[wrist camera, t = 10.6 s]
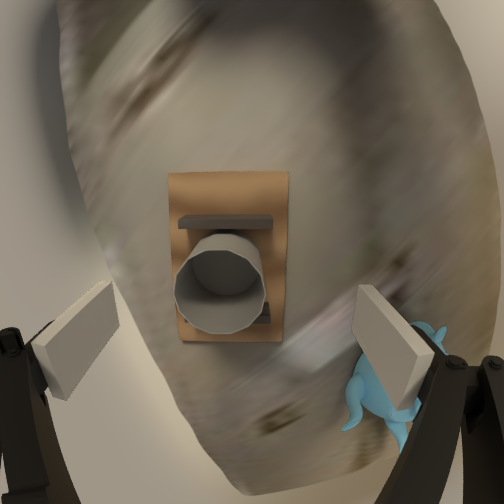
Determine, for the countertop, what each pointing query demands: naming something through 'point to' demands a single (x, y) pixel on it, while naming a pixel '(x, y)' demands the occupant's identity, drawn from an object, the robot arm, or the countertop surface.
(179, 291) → the cup
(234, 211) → the end holder
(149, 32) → the countertop surface
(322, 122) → the countertop surface
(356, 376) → the teapot
